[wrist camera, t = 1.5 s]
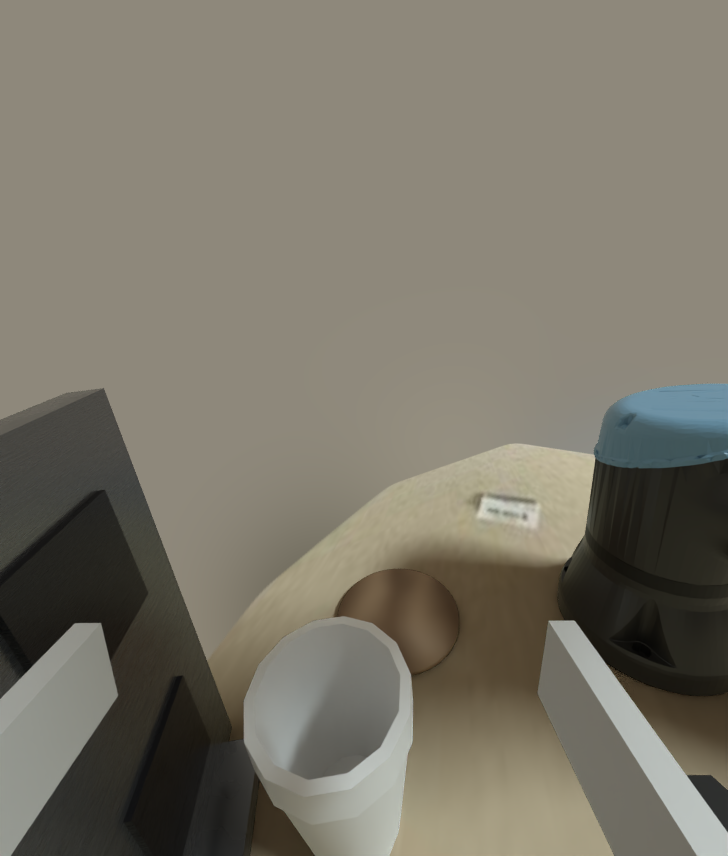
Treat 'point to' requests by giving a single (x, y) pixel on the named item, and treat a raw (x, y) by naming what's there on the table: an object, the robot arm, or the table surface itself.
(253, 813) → the post
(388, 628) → the coaster
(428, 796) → the table surface
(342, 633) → the foam cup
